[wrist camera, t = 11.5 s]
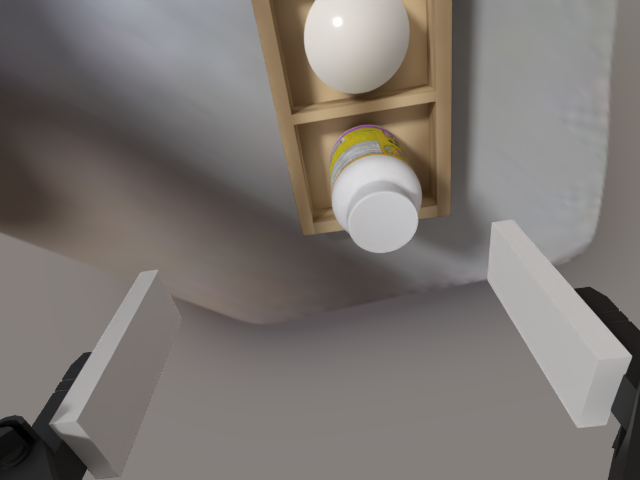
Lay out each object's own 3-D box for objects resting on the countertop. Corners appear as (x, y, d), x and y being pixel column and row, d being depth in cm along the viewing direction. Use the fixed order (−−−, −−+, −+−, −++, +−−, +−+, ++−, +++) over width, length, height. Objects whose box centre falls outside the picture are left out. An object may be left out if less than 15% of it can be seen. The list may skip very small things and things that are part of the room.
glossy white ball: (314, 91, 34) (313, 101, 31) (297, -12, 30) (294, -13, 27) (403, 76, 34) (411, 84, 30) (397, -32, 30) (406, -35, 27)
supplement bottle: (407, 178, 38) (442, 251, 27) (341, 198, 39) (349, 276, 28) (391, 111, 35) (423, 163, 24) (319, 135, 36) (319, 196, 25)
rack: (304, 217, 42) (302, 235, 38) (251, -36, 30) (243, -39, 27) (440, 197, 40) (450, 215, 37) (437, -73, 29) (452, -82, 26)
